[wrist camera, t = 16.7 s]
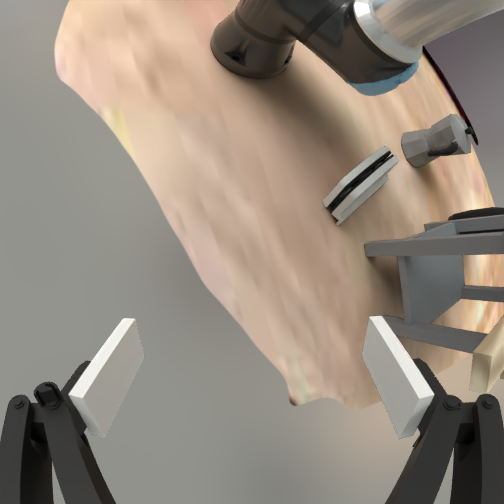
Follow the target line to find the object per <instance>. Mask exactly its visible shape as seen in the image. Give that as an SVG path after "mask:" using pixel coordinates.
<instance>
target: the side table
mask: <svg viewBox="0 0 504 504" xmlns="http://www.w3.org/2000/svg"><path fill="white" fill-rule="evenodd" d="M424 226H425V232H422V233H420V234H417V235H414V236H411V237H408V238H406V239H395V240H382V241H372V242H368V243H365V244H364V246H365V252H366V256H397V260H398V266H399V274H400V281H401V290H402V299H403V309H404V319H402V318H397V317H392V316H387V315H382V317H383V318H384V320H385V321H386V323H387V324H388V325H389V327H390V328H391V330H392V331H393V333H394V334H395V335H397V336H401V337H405V338H409V339H413V340H417V341H421V342H425V343H429V344H433V345H437V346H442V347H446V348H450V349H454V350H459V351H463V352H468V353H472V354H473V351H474V350H475V349H476V348H477V347H478V346H479V345H480V343H481V342H482V341H483V340H484V339H485V337H486V336H487V335H488V334H486V333H480V332H474V331H468V330H462V329H456V328H450V327H445V326H439V325H434V324H429V323H431V322H432V321H433V320H435V319H436V318H437V317H439V316H440V315H441V314H443V313H444V312H445V311H446V310H448V309H449V308H450V307H452V306H453V305H454V304H455V303H456V302H458V301H459V300H460V299H471V300H482V301H493V302H504V287H490V286H472V285H465V283H464V269H463V258H462V255H482V254H504V232H492V233H478V234H464V235H460V233H459V232H466V231H479V230H491V229H504V215H495V216H486V217H477V218H468V219H459V220H450V221H441V222H432V223H427V224H424Z"/></svg>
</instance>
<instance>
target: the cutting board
mask: <svg viewBox="0 0 504 504" xmlns="http://www.w3.org/2000/svg"><path fill="white" fill-rule="evenodd" d="M500 375H501V376H500ZM499 376H500V379H504V315H503V316H502V317H501V319H500V320H499V321H498V323H497V324H496V325H495V326H494V328H493V329H492V330H491V331H490V333H489V334H488V335H487V336H486V337H485V339H484V340H483V341H482V342H481V343H480V345H479V346H478V347H477V348H476V349H475V350H474V351H473V360H472V371H471V378H470V386H469V390H471V391H475V392H478V393H481V394H487V393H488V392H489V390H490V389H491V387H492V386H493V385H494V383H495V382H496V380H497V379H498V377H499Z"/></svg>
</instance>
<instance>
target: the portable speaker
mask: <svg viewBox="0 0 504 504" xmlns="http://www.w3.org/2000/svg"><path fill="white" fill-rule="evenodd" d="M495 215H504V208H496V207H491V208H483V209H476V210H469V211H465V212H461V213H457V214H454V215H452V216H451V217H449V219H448V221H450V220H459V219H468V218H477V217H486V216H495ZM492 232H504V229H491V230H479V231H466V232H459V233H460V235H464V234H478V233H492Z"/></svg>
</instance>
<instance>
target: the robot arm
mask: <svg viewBox="0 0 504 504" xmlns="http://www.w3.org/2000/svg"><path fill="white" fill-rule="evenodd" d="M502 9H504V0H240V1H239V3H238V5H237V7H236V9H235V11H233V12H232V13H231V14H230V15H229V16H228V17H226V18H225V19H224V20H223V21H222V22H221V23H219V24H218V26H217V27H216V28H215V30H214V33H213V35H212V37H211V49H212V52H213V54H214V55H215V57H216V58H217V59H218V61H219V62H220V63H221V64H222V65H224V66H225V67H226V68H228V69H229V70H231V71H233V72H235V73H237V74H239V75H242V76H245V77H249V78H256V79H266V78H271V77H274V76H276V75H278V74H280V73H281V72H282V71H283V70H284V69H285V67H286V66H287V65H288V64H289V62H290V60H291V57H292V53H293V50H294V46H295V42H296V40H299V41H300V42H301V43H302V44H304V45H305V46H306V47H307V48H309V49H310V50H311V51H312V52H313V53H315V54H316V55H317V56H318V57H319V58H320V59H322V60H323V61H324V62H325V63H326V64H327V65H328V66H329V67H331V68H332V69H333V70H334V71H335V72H336V73H337V74H338V75H339V76H340V77H341V78H342V79H343V80H344V81H345V82H346V83H348V84H350V85H351V86H352V87H353V88H355V89H356V90H357V91H358V92H359V93H361V94H363V95H367V96H376V95H380V94H383V93H386V92H389V91H391V90H393V89H395V88H396V87H397V86H398V85H399V84H401V83H404V82H406V81H407V80H408V79H409V78H410V77H412V76H413V74H414V73H415V72H416V70H417V68H418V60H419V59H420V58H421V55H422V46H423V45H424V44H426V43H428V42H430V41H432V40H434V39H436V38H438V37H440V36H442V35H444V34H446V33H448V32H451V31H453V30H455V29H457V28H459V27H461V26H463V25H466V24H468V23H470V22H472V21H474V20H477V19H479V18H482V17H484V16H486V15H489V14H491V13H494V12H497V11H499V10H502ZM362 358H363V360H364V362H365V364H366V366H367V368H368V370H369V373H370V375H371V377H372V379H373V381H374V383H375V386H376V388H377V390H378V392H379V395H380V397H381V399H382V401H383V404H384V406H385V408H386V410H387V413H388V415H389V417H390V419H391V422H392V424H393V427H394V429H395V432H396V434H397V436H398V439H402V438H405V437H409V436H413V435H414V433H415V431H416V429H417V428H418V429H419V431H420V435H419V437H418V438H417V440H416V442H415V443H414V445H413V447H414V448H413V450H412V453H411V455H410V457H409V459H408V461H407V463H406V465H405V467H404V470H403V471H402V473H401V475H400V477H399V479H398V481H397V483H396V485H395V487H394V489H393V490H392V492H391V494H390V496H389V497H388V499H387V501H386V503H385V504H433V503H434V501H435V498H436V496H437V493H438V491H439V488H440V486H441V483H442V481H443V478H444V475H445V472H446V470H447V466H448V463H449V460H450V457H451V454H452V451H453V448H454V462H453V478H452V490H451V498H450V504H504V428H503V421H502V415H501V410H500V405H499V402H498V400H497V399H496V398H495V397H494V396H492V395H491V394H482V395H480V396H479V397H478V399H477V400H476V402H469V403H462V402H461V400H460V399H459V398H458V397H456V396H453V395H447V394H446V392H445V390H444V389H443V387H442V386H441V384H440V383H439V381H438V380H437V378H436V377H434V376H435V375H434V374H433V372H431V369H430V368H429V367H428V365H427V364H426V363H425V362H423V361H422V360H421V359H419V358H418V359H411V357H410V356H409V354H408V353H407V352H406V350H405V349H404V347H403V346H402V344H401V343H400V341H399V340H398V338H397V337H396V335H395V334H394V333H393V331H392V330H391V328H390V327H389V325H388V324H387V323H386V321H385V320H384V318H383V317H382V316H372V317H369V322H368V327H367V332H366V337H365V342H364V347H363V351H362ZM143 359H144V353H143V349H142V345H141V342H140V337H139V333H138V329H137V325H136V320H135V319H129V318H123V320H122V321H121V322H120V324H119V325H118V326H117V327H116V329H115V330H114V331H113V333H112V334H111V335H110V337H109V338H108V339H107V341H106V342H105V344H104V345H103V346H102V348H101V349H100V350H99V352H98V353H97V354H96V356H95V357H94V359H93V360H92V361H85V362H84V363H82V364H81V365H80V366H79V367H78V368H77V370H76V371H75V373H74V374H73V375H72V376H71V379H69V380H68V382H67V383H66V385H65V386H64V388H63V389H62V390H61V392H60V390H59V388H58V387H57V385H56V384H55V383H53V382H44V383H42V384H40V385H39V386H37V387H36V389H35V390H34V396H35V398H36V400H37V401H38V403H31V402H30V400H29V399H28V397H27V396H25V395H17V396H15V397H13V398H12V399H11V400H10V402H9V404H8V408H7V412H6V416H5V421H4V425H3V431H2V435H1V441H0V504H54V502H53V487H52V462H53V465H54V469H55V472H56V476H57V479H58V482H59V485H60V488H61V491H62V494H63V497H64V500H65V503H66V504H116V503H115V501H114V499H113V497H112V495H111V493H110V491H109V489H108V487H107V485H106V482H105V480H104V479H103V476H102V474H101V472H100V469H99V467H98V465H97V462H96V460H95V458H94V455H93V453H92V450H91V448H90V445H89V442H88V440H87V437H86V435H85V434H84V431H85V429H86V427H87V428H88V430H89V431H90V433H91V434H92V435H95V436H99V437H103V438H105V437H106V434H107V432H108V430H109V428H110V426H111V424H112V422H113V420H114V418H115V415H116V413H117V411H118V409H119V407H120V405H121V403H122V401H123V399H124V397H125V395H126V393H127V391H128V389H129V387H130V385H131V383H132V381H133V379H134V377H135V375H136V373H137V371H138V369H139V367H140V365H141V363H142V361H143Z"/></svg>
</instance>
